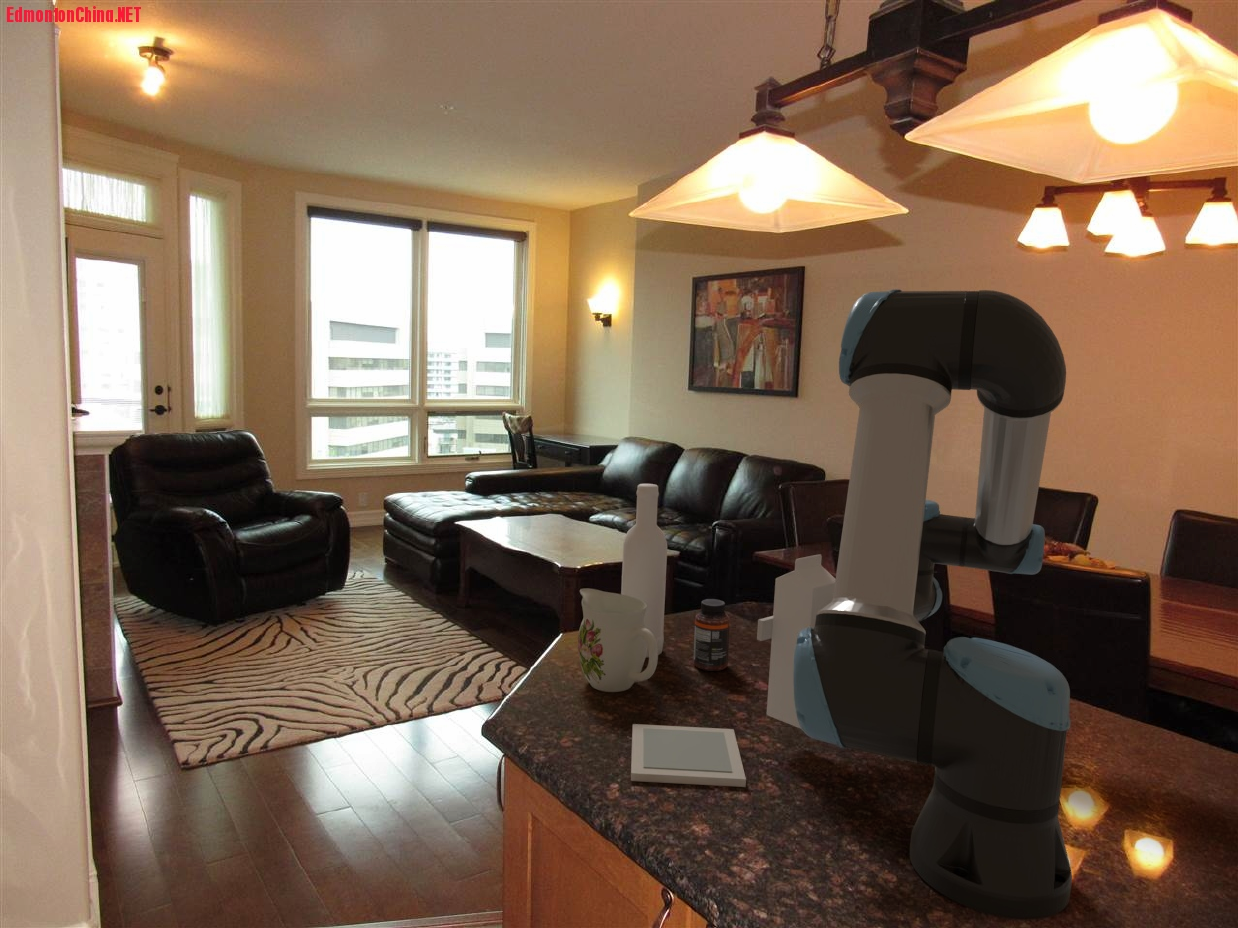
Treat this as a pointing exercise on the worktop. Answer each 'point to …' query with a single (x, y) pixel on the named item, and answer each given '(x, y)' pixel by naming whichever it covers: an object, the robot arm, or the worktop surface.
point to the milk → (794, 628)
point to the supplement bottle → (711, 636)
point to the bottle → (646, 562)
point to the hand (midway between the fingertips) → (780, 636)
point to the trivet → (686, 755)
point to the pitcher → (614, 641)
